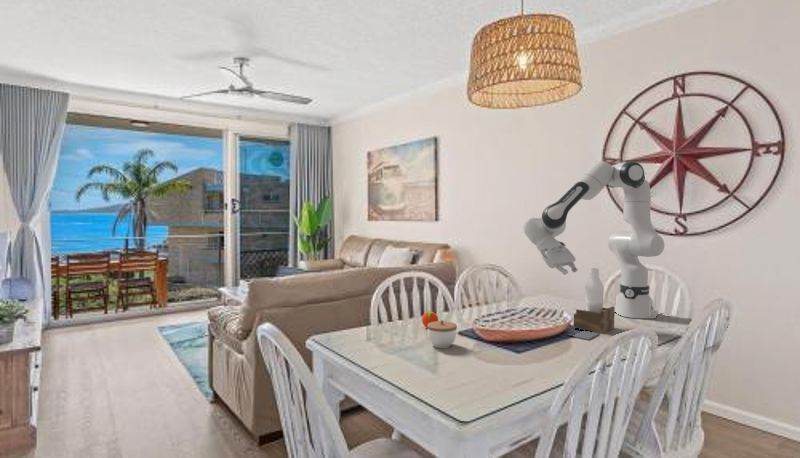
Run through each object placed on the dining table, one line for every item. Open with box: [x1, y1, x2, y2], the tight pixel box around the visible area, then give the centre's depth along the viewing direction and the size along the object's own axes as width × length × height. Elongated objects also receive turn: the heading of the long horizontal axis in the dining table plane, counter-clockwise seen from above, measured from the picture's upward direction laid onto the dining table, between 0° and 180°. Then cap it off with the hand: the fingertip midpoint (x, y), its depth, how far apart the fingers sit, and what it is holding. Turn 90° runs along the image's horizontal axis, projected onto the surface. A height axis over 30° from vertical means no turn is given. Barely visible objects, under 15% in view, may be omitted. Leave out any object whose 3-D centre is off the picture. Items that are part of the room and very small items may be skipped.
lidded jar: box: [426, 319, 458, 349], centre depth 165 cm, size 11×11×9 cm
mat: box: [573, 330, 601, 341], centre depth 179 cm, size 11×11×1 cm
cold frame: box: [573, 306, 616, 335], centre depth 189 cm, size 12×12×9 cm
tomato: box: [421, 311, 439, 329], centre depth 189 cm, size 8×7×7 cm
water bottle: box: [584, 268, 605, 313], centre depth 188 cm, size 7×7×25 cm
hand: (571, 272), depth 195 cm, fingers open, 8 cm apart
